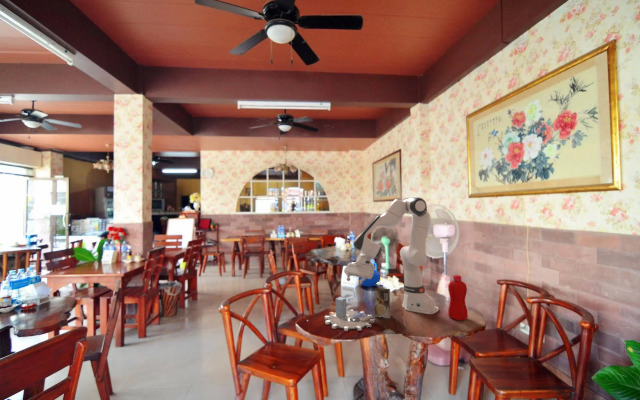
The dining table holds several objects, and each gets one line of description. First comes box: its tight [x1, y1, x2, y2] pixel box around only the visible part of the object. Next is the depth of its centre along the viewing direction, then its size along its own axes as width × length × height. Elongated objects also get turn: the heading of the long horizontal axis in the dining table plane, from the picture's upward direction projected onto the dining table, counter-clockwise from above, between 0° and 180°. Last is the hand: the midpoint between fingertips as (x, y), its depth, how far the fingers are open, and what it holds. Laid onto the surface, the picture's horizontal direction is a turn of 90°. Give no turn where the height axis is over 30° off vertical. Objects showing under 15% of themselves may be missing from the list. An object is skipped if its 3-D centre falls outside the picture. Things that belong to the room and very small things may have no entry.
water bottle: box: [447, 274, 469, 322], centre depth 179 cm, size 9×11×25 cm
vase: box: [358, 269, 381, 288], centre depth 251 cm, size 18×18×19 cm
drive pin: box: [335, 296, 347, 317], centre depth 181 cm, size 4×4×10 cm
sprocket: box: [324, 309, 375, 332], centre depth 177 cm, size 29×29×2 cm
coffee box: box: [373, 287, 392, 319], centre depth 184 cm, size 9×6×16 cm
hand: (353, 281), depth 191 cm, fingers open, 8 cm apart
